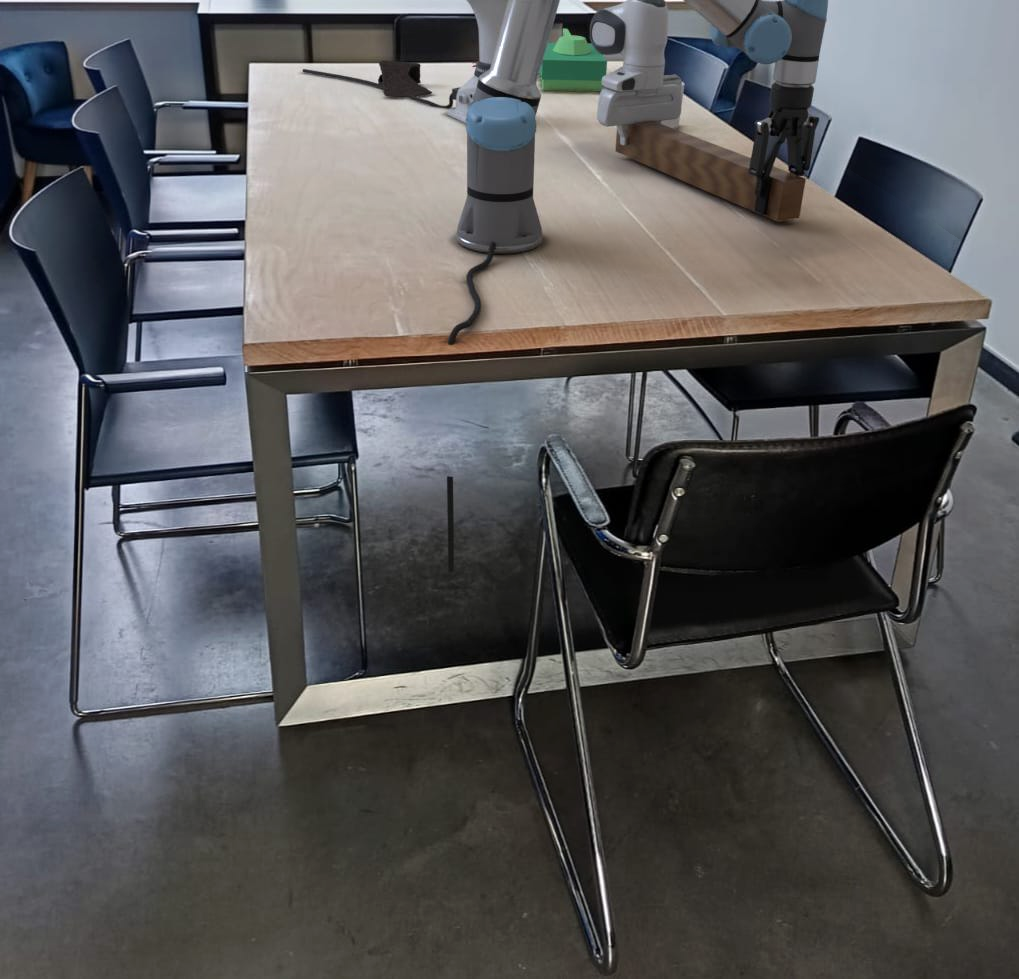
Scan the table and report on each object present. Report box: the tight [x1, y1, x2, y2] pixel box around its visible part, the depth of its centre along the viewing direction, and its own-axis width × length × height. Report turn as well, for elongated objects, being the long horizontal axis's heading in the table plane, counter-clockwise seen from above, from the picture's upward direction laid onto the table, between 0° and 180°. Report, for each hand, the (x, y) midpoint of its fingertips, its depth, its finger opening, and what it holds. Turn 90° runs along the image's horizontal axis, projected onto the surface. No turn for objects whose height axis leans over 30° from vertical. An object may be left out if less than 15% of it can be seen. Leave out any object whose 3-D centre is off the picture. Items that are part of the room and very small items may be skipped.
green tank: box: [538, 28, 608, 92], centre depth 314 cm, size 18×12×35 cm
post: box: [615, 121, 807, 222], centre depth 224 cm, size 55×5×8 cm, turn 29°
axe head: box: [377, 59, 433, 99], centre depth 299 cm, size 18×8×15 cm
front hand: (772, 210), depth 208 cm, fingers closed on post, 5 cm apart
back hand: (637, 142), depth 241 cm, fingers closed on post, 5 cm apart
